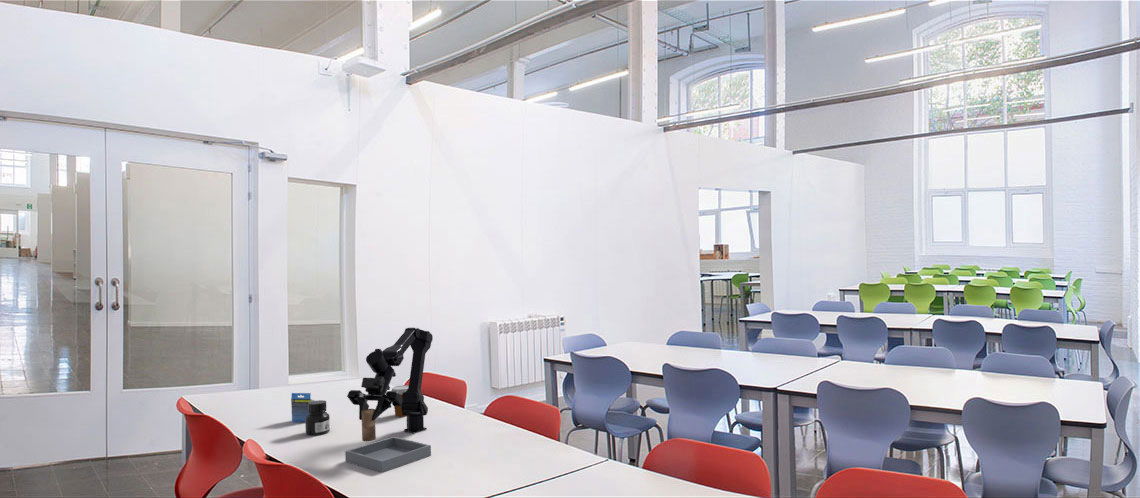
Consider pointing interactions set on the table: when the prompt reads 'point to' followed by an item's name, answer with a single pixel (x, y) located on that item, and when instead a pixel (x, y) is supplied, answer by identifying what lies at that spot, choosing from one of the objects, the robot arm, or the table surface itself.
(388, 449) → the tray
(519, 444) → the table surface
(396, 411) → the disposable coffee cup
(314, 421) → the ink bottle
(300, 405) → the label tape box
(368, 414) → the post
